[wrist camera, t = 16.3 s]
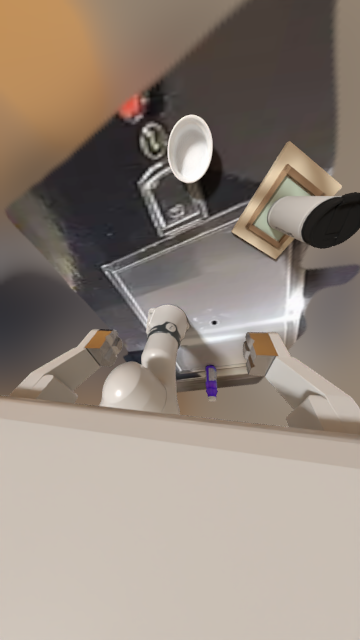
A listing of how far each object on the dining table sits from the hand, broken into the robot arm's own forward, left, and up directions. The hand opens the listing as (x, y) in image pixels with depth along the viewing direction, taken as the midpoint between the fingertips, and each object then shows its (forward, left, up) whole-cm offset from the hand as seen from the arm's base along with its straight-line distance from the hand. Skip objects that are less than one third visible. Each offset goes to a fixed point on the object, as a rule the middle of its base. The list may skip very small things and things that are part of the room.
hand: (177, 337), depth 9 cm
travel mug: (+12, -16, -40) cm, 44 cm away
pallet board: (+12, -16, -41) cm, 46 cm away
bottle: (-56, -41, -41) cm, 81 cm away
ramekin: (+11, +8, -42) cm, 44 cm away
